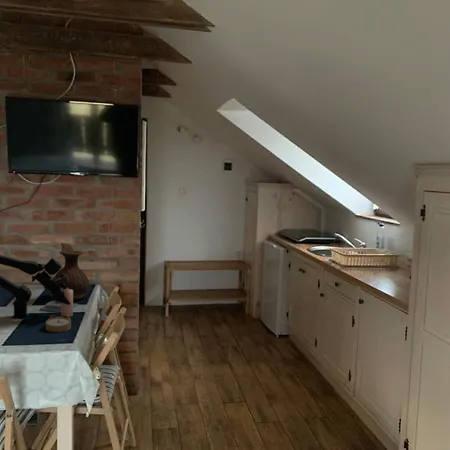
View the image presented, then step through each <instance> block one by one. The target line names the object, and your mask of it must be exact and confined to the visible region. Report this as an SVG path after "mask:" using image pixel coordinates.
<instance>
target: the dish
mask: <svg viewBox="0 0 450 450" xmlns="http://www.w3.org/2000/svg"><path fill="white" fill-rule="evenodd" d="M78 305H79V304H78V303H76V302H75V303H74V302H73V309H75V308H77V307H78ZM39 308H40V309H39V311H44V312H54V313H61V302H58V301H54V302H53V301H52V300H51V301H49V302H46V303H45V305H43V306H41V307H39Z"/></svg>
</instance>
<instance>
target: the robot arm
mask: <svg viewBox="0 0 450 450" xmlns="http://www.w3.org/2000/svg"><path fill="white" fill-rule="evenodd" d="M0 265H3V266H6V267H11V268H14V269H17V270H20V271H22V272H23V273H25V274H28V275H29V276H31V282H32V283H34V282H36V281H37V282H38V283H39V284H40V285H42V286H43V289H44V290H47V291H48V292H49V294H50V300H51V301H53V302H54V301H58V302H61V303H64V304H67V305H70V302H69V301H68V299H67V298H66V297H65V296H64V291H62V290H63V289H65V287H64V288H62V287H63V286H65V283H68V282H69V279H68V276H67V275H64V274H61V275H60V278H58V279H55V278H54V277H52V275H53V276H55V275H56V274H57V272H58V271H59V270H61V269H62V268H63V266H62V264H61V263H60V262H59V261H58V260H56V259H54V257H51V258H50V259H49V260H48V261H47V263H38V261H35V260H21V259H17V258H13V257H9V256H5V255H2V254H0ZM0 287H1V288H3V289H4V290H6V291H8V292H9V293H11V295H12V296H13V297H14V300H13V302H12V305H13V315H12V316H10V318H11V319H22V320H23V319H25V318H27V317H29V316H30V315H31V314H30V313H28V302H29V301H30V299H31V298H32V296H33V295H32V294H33V293H32V291H31V290H30V287H27V286H26V285H25V284H23V283H22V284H21V285H17V284H15V283H14V282H12V281H10V280H9V279H7V278H6V277H4V276H2V275H1V274H0Z"/></svg>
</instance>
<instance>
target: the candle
mask: <svg viewBox="0 0 450 450" xmlns="http://www.w3.org/2000/svg"><path fill="white" fill-rule="evenodd" d="M62 291H64V296H65V297H66V298H67V299H68V301H69V302H70V305H67V304H64V303H61V312H60V316H64V315H67V316H69V317H70V316H71V317H73V315H74V314H73V312H74V308H73V303H74V300H73V290H72V289H68V288H66V289H63V290H62ZM71 317H70V318H71Z"/></svg>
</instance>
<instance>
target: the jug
mask: <svg viewBox="0 0 450 450" xmlns="http://www.w3.org/2000/svg"><path fill="white" fill-rule="evenodd" d="M60 245H61V251H59V254H60V255H62V256H63V257H64V265H63V266H62V268H61V269H60V270H59V271H58V272H57V273H56V274H54V275H53V276H54V277H53V278H55V279H58V278H60V275H61V274H64V275H67V276H68V279H69V282H68V283H65V286H63V287H62V288H64V287H65V289H66V288H68V289H72V290H73V301H74V300H81V299H82V298H84V297H85V296H86V295H87V294H88V293H89V291H90V289H91V284H90V280H89V277H87V275H86V273H85V272H84V271H83V270H82V269H81V268H80V267H79V264H78V263H79V261H78V260H79V257H80V256H82V255H83V254H84V252H83V251H82V250H74V248H73V246H72V244H71V243H70V242H69V243H67V242H66V243H65V242H61V243H60Z"/></svg>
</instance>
